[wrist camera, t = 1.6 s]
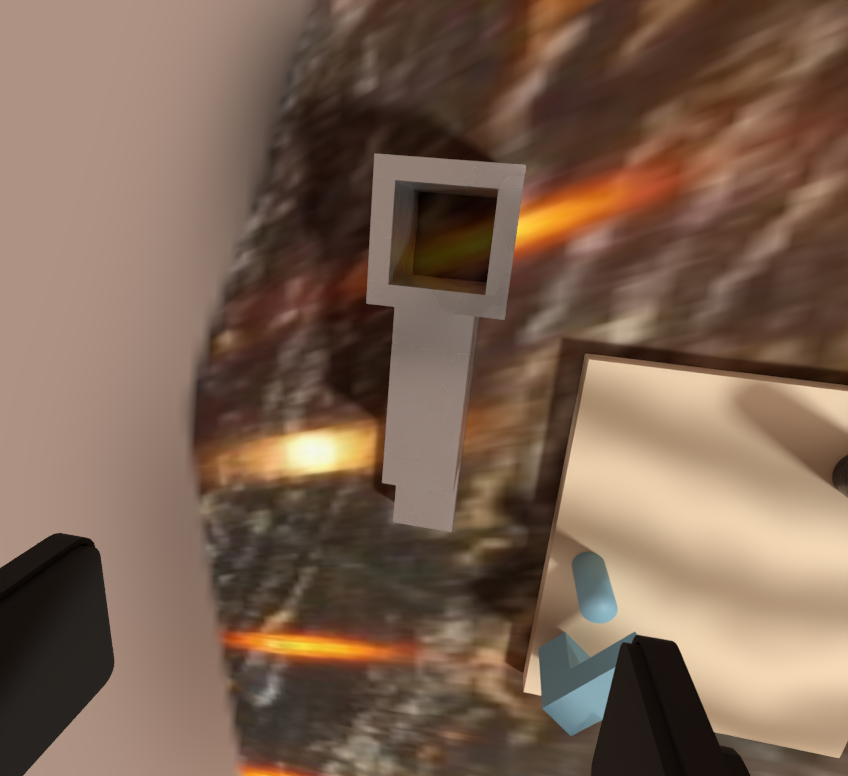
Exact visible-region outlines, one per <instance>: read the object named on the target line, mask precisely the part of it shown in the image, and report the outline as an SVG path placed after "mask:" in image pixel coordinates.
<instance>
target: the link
mask: <svg viewBox="0 0 848 776" xmlns="http://www.w3.org/2000/svg"><path fill="white" fill-rule="evenodd" d="M525 169H526V165H519V164H506V163H493V162H480V161H467V160H454V159H441V158H428V157H415V156H402V155H389V154H376V153H374V169H373V188H372V206H371V224H370V242H369V261H368V279H367V297H366V304H373V305H382V306H391V307H395V308H394V322H393V336H392V350H391V363H390V377H389V391H388V405H387V419H386V433H385V447H384V461H383V474H382V483H385V484H391V485H396V492H395V504H394V516H393V522H396V523H402V524H407V525H413V526H419V527H425V528H431V529H436V530H442V531H448V532H452V527H453V522H454V517H455V510H456V502H457V494H458V486H459V478H460V470H461V462H462V454H463V446H464V438H465V430H466V422H467V414H468V406H469V398H470V390H471V382H472V374H473V366H474V358H475V350H476V342H477V334H478V326H479V317H485V318H494V319H502V320H504V319H505V312H506V305H507V297H508V290H509V283H510V276H511V269H512V262H513V254H514V247H515V240H516V233H517V226H518V219H519V211H520V204H521V197H522V190H523V183H524V176H525ZM420 192H429V193H440V194H452V195H464V196H475V197H487V198H497V206H496V214H495V222H494V230H493V238H492V245H491V253H490V261H489V269H488V277H487V282H479V281H469V280H460V279H451V278H441V277H432V276H423V275H413V268H414V256H415V244H416V231H417V219H418V207H419V195H420Z"/></svg>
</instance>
